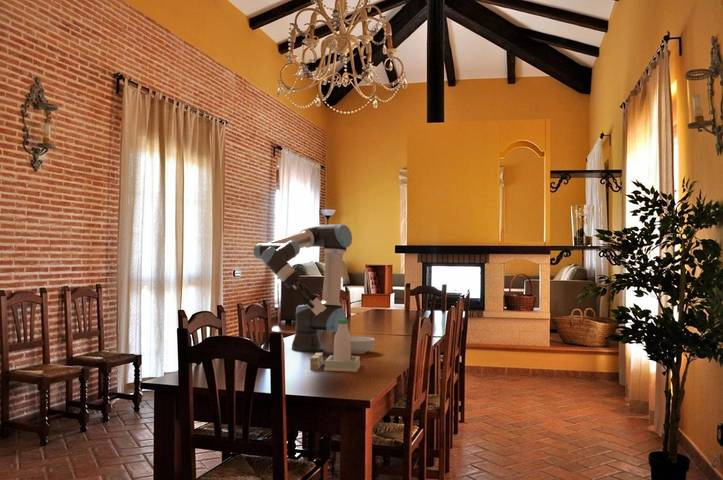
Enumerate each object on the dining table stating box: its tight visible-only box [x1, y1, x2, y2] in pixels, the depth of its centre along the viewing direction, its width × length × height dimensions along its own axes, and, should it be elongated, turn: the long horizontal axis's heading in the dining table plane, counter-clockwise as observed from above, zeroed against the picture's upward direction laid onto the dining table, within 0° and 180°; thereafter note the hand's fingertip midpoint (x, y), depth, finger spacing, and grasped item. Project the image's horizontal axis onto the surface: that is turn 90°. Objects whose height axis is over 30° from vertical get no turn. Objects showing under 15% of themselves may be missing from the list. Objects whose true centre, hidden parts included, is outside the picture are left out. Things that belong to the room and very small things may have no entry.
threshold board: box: [309, 352, 324, 371], centre depth 263 cm, size 14×3×5 cm, turn 174°
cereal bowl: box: [351, 336, 376, 355], centre depth 301 cm, size 17×17×7 cm
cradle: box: [323, 354, 361, 373], centre depth 262 cm, size 14×14×4 cm
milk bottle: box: [333, 318, 352, 361], centre depth 262 cm, size 8×8×20 cm
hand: (321, 311), depth 263 cm, fingers open, 13 cm apart
